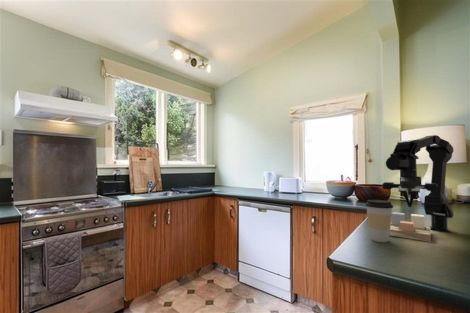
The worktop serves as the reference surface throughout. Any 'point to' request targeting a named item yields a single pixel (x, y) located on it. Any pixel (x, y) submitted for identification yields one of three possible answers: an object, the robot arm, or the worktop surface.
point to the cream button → (418, 221)
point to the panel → (411, 233)
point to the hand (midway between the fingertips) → (409, 206)
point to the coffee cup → (379, 219)
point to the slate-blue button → (397, 218)
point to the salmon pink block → (407, 226)
